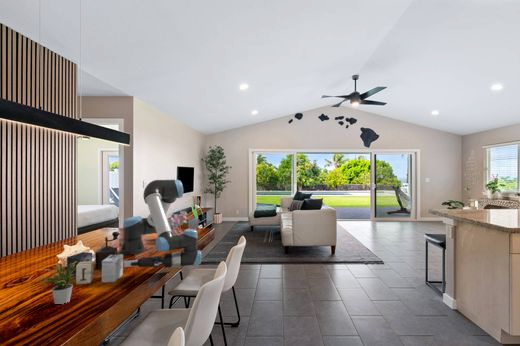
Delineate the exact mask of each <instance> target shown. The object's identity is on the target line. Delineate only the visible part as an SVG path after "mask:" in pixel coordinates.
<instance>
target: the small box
mask: <svg viewBox="0 0 520 346" xmlns="http://www.w3.org/2000/svg"><path fill="white" fill-rule="evenodd" d="M76 261H77V262H76ZM86 261H93V252H86V251H82V252H79V253H75V254H73V255H70V256H67V257H66V268H67V267H68V265H69V264H71V263H72V264H73V263H74V262H76V263H75V264H74V265H75V266H74V265H73V266H74V267H73V269H72V268H71V269H72V270H70V271H73V270H74V269H75V270H74V271H73V272H72V273H71V274H74V275H72V276H71V277H73V279H76V268H75V267H76V265H77V264H78V263H79V262H86ZM72 264H71V265H72ZM71 265H70V266H71ZM70 266H69V267H70ZM69 267H68V269H69ZM68 269H67V271H66V273H67V272H68ZM74 277H75V278H74Z"/></svg>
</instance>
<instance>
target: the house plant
mask: <svg viewBox="0 0 520 346" xmlns="http://www.w3.org/2000/svg"><path fill="white" fill-rule="evenodd" d="M76 262H77V261H76ZM76 262H74V263H73V264H72V263H71V264H72V265H71V264H69V265H68V267H69V266H70V265H71V266H70V267H69V269H68V267H67V266H65V265H66V264H65V263H63V265H60V264H58V263H57V262H56V263H55V264H56V266H52V267H53V268H54V269H55V270H56V271H57V272H58V273H57V272H56V271H54V270H52V269H49V268H48V269H47V268H44V270H45V271H48V273H50V274H51V275H53V276H54V277H47V276H42V277H39V279H42V280H45V281H46V282H44V283H43V286H44V285H46V284H50V283H51V284H53V285H54V286H53V287H52V288H51V291H52V296H53V301H54V305H55V304H62V305H65V304H64V303H66V304H68V303H70V300H71V297H72V296H71V295H72V292H73V291H72V290H73V285H74V284H71V283H70V281H72V280H73V279H76V278H75V277H74V278H73V277H71V276H72V275H74V274H71V273H72V272H73V271H74V270H75V269H74V270H73V271H70V270H72V269H73V267H74V266H75V265H74V264H75V263H76ZM73 265H74V266H73ZM77 266H78V265H77ZM77 266H76V267H77ZM76 267H75V268H76ZM71 268H72V269H71ZM67 269H68V272H67ZM67 302H68V303H67Z"/></svg>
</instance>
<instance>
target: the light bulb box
mask: <svg viewBox="0 0 520 346" xmlns="http://www.w3.org/2000/svg"><path fill="white" fill-rule="evenodd" d="M123 259H124V254H121V253H120V254H117V255H109V256H108V257H107V258H106V259H104V260H103V261H102V269H101V283H116V282H117V281H118V280H119V279H120V278H121V277H122V276H123V273H124V272H123V271H124V260H123Z"/></svg>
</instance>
